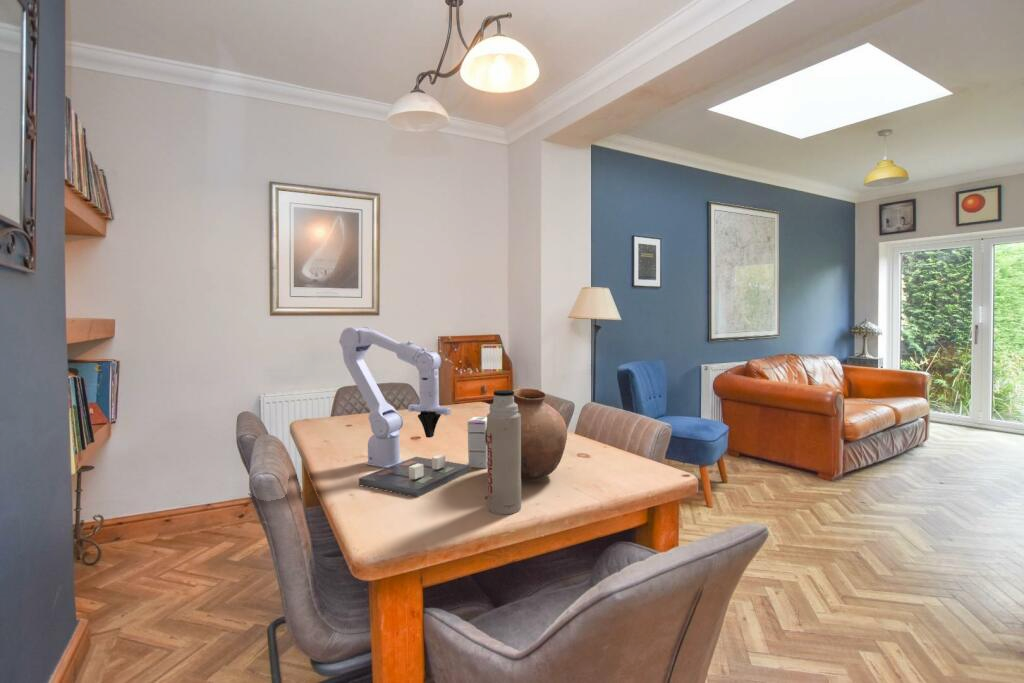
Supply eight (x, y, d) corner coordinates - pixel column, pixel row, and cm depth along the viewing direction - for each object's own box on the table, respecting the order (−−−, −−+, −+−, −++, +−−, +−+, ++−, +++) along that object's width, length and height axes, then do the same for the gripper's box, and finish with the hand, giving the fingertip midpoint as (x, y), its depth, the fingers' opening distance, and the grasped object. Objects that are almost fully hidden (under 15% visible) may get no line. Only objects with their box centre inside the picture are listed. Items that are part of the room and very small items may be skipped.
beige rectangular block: (409, 478, 136) (408, 466, 136) (417, 474, 139) (417, 463, 139) (415, 479, 135) (414, 467, 135) (423, 475, 138) (423, 464, 138)
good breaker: (432, 468, 145) (431, 457, 145) (439, 465, 148) (439, 454, 148) (437, 469, 144) (437, 458, 144) (445, 466, 147) (445, 455, 147)
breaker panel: (359, 485, 138) (358, 477, 138) (416, 462, 159) (416, 456, 159) (417, 497, 128) (417, 489, 128) (469, 471, 149) (469, 464, 149)
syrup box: (486, 468, 153) (486, 420, 152) (467, 467, 154) (467, 419, 153) (491, 463, 158) (490, 416, 158) (473, 462, 159) (472, 416, 159)
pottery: (507, 462, 159) (507, 382, 158) (578, 471, 149) (578, 386, 148) (470, 483, 139) (469, 392, 138) (549, 496, 129) (548, 397, 127)
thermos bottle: (488, 515, 117) (487, 393, 115) (487, 502, 125) (486, 388, 123) (523, 513, 117) (522, 392, 116) (519, 501, 125) (518, 388, 124)
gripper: (401, 392, 153) (402, 437, 153) (440, 395, 146) (441, 442, 146) (416, 389, 159) (417, 432, 160) (454, 392, 152) (455, 437, 153)
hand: (429, 436), depth 153 cm, fingers closed
